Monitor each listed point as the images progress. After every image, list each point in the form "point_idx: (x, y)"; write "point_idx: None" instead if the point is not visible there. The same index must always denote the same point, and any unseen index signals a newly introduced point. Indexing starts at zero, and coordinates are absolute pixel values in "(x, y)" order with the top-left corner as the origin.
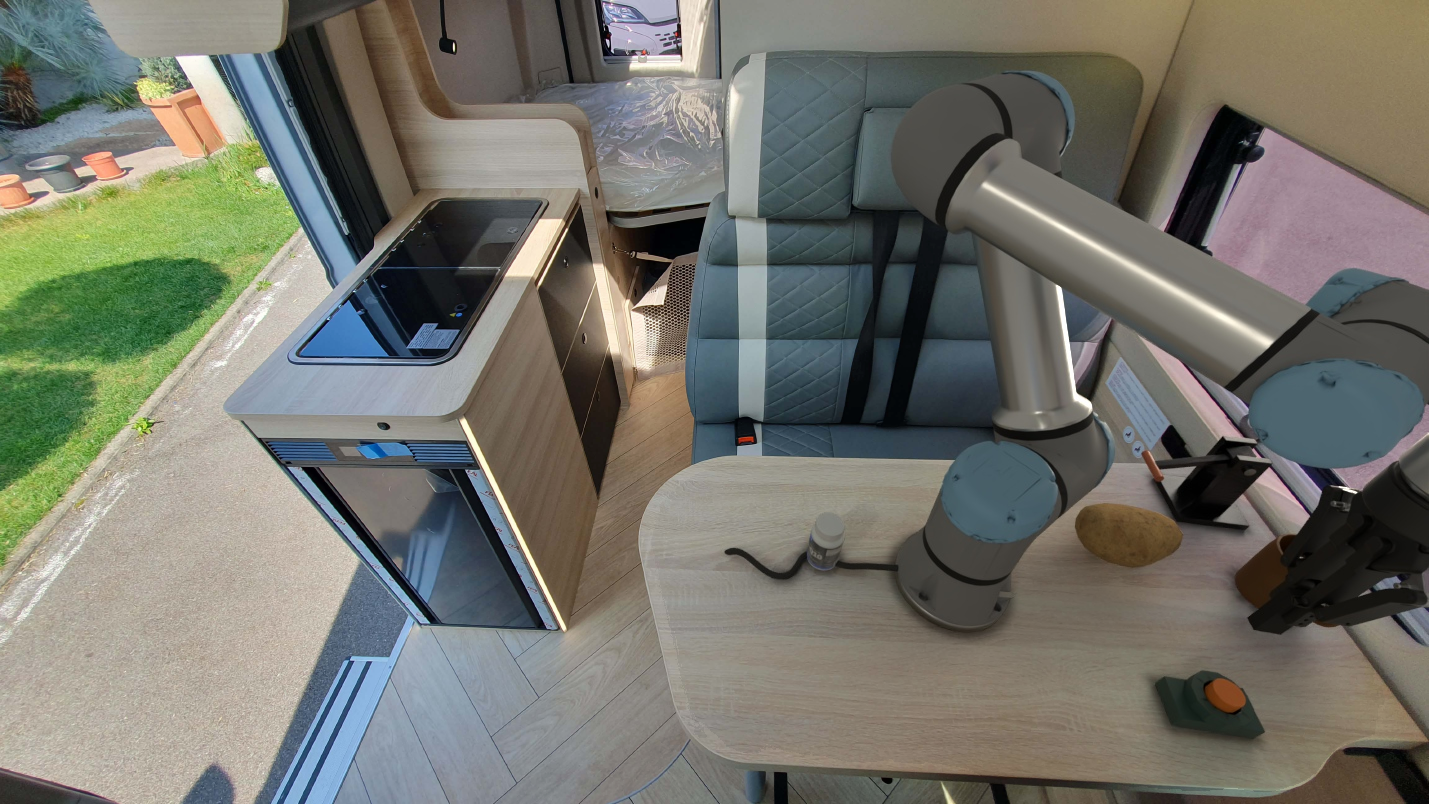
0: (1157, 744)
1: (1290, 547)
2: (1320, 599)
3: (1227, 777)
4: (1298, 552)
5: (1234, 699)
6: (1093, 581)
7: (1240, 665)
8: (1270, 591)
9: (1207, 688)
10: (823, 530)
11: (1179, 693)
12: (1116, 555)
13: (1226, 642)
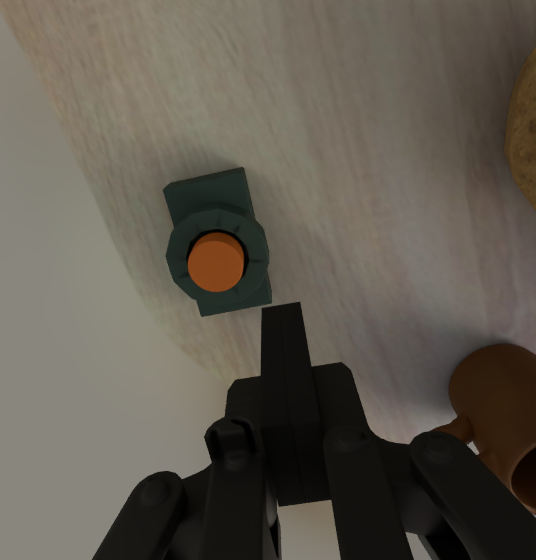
0: (122, 152)
1: (505, 502)
2: (203, 526)
3: (121, 253)
4: (464, 533)
5: (203, 272)
6: (457, 70)
7: (334, 315)
8: (484, 389)
9: (221, 235)
10: None
11: (214, 194)
12: (526, 91)
13: (373, 304)
